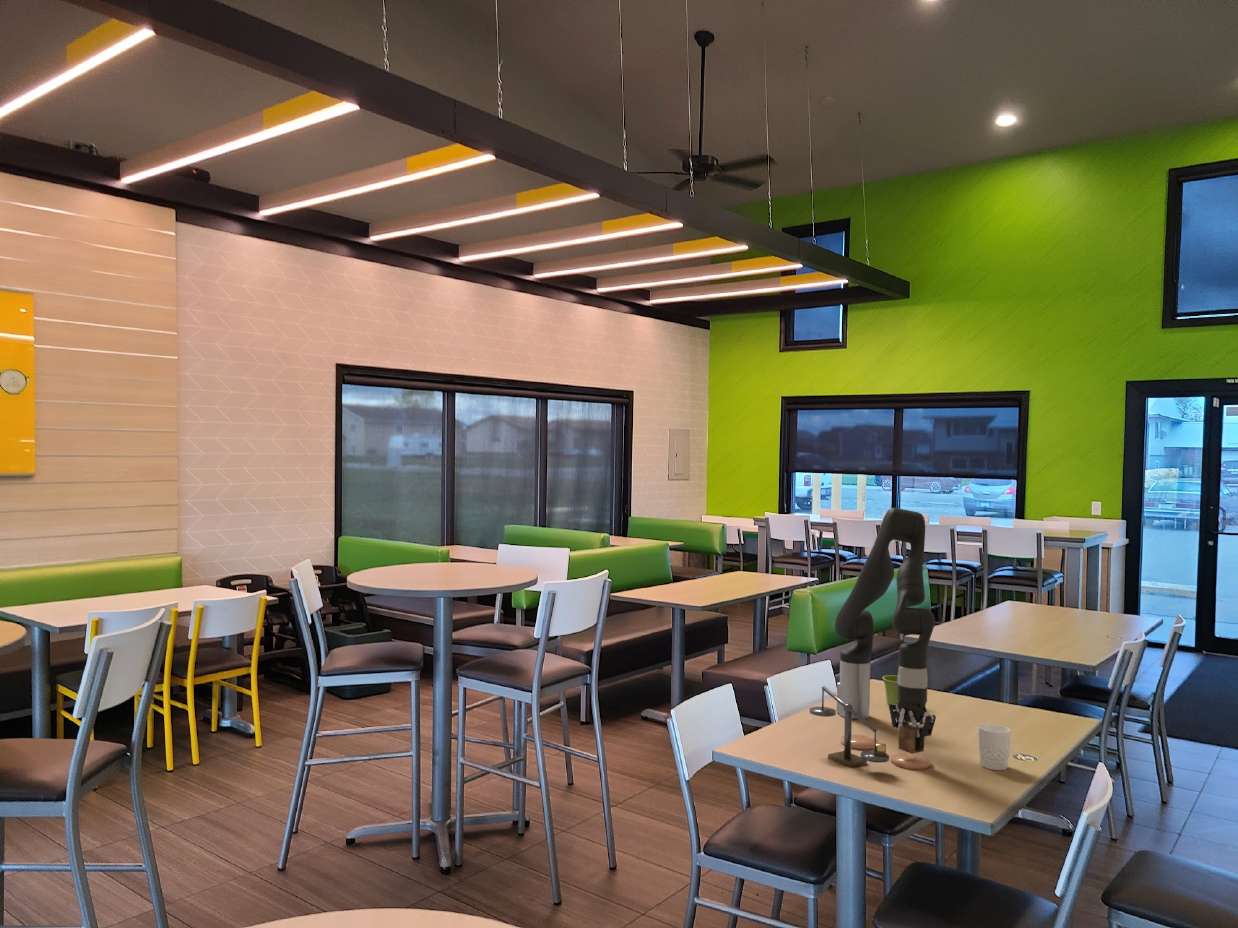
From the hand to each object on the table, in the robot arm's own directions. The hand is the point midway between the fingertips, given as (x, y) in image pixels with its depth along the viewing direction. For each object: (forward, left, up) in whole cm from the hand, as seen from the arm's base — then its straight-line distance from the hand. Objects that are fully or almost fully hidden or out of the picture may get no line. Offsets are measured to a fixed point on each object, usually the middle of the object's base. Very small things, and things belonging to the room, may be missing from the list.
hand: (911, 747), depth 231 cm
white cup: (+12, +18, -4) cm, 22 cm away
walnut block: (0, 0, -1) cm, 1 cm away
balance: (-9, -14, -4) cm, 17 cm away
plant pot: (-43, +44, -4) cm, 62 cm away
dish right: (0, 0, -4) cm, 4 cm away
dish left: (-18, 0, -4) cm, 19 cm away
